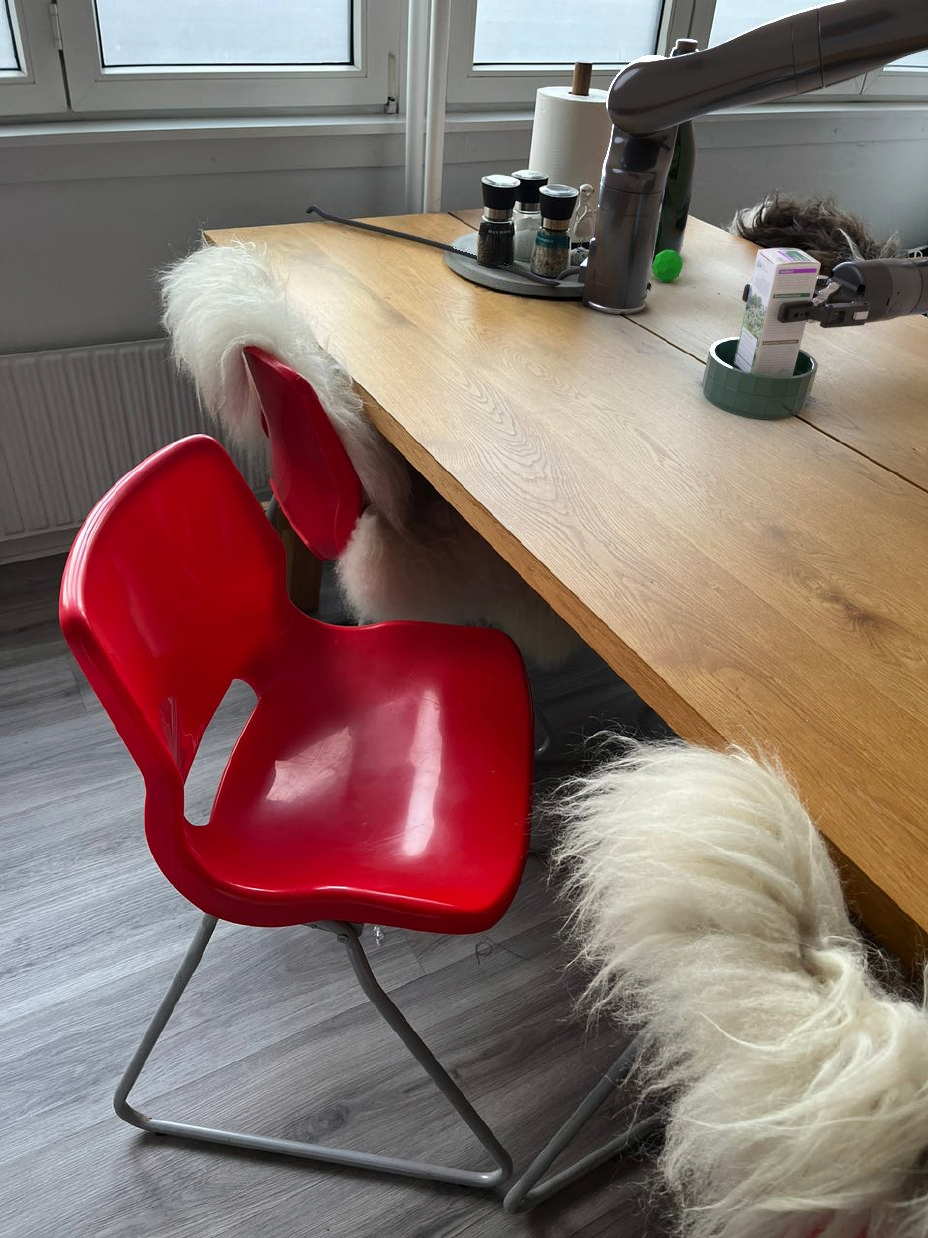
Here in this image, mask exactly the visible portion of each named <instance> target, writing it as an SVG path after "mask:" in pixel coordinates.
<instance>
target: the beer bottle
mask: <svg viewBox="0 0 928 1238" xmlns="http://www.w3.org/2000/svg"><path fill="white" fill-rule="evenodd" d="M698 44H699V42H698V41H697V40H695V39H691V38H679V39H677V40H676V42H675V47H673V48H672V51H671V53H670V58H671V57H676V56H681V55H686V54H690V53H695V52H699V51H700V50H699V49H697V48H698ZM694 126H695V125H694V118H693V119H691V120H688V121H685V122H682V123H680V124H679V126H678V131H677V136H676V141H675V147H674V152H673V157H672V162H671V165H670V168H669V172H668V176H667V180H666V185H665V191H664V197H663V203H662V209H661V214H660V220H659V226H658V232H657V238H656V243H655V249H654V255H653V261H652V262H654V260H655V257H656V255H657V254H659V253H660V252H662V251H664V250H673V251H675V252H676V253H678V254H679V255H680V256H681V254H682V251H683V246H684V240H685V234H686V230H687V223H688V218H689V212H690V206H691V199H692V194H693V188H694V184H695V183H694V182H695V176H696V168H697V159H698V158H697V157H698V156H697V152H698V151H697V149H698V147H697V140H696V133H695V127H694Z"/></svg>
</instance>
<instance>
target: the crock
mask: <svg viewBox="0 0 928 1238" xmlns="http://www.w3.org/2000/svg"><path fill="white" fill-rule="evenodd" d="M738 340H739V336H737V337H728V338H724V339H721V340H717V341H715V342H714V343H712V344H711V345H710V348H709V350H708V354H707V360H706V364H705V369H704V373H703V377H702V382H701V387H702V391H703V395H704V397H705V399H706V400H707V401H708V402H709V403H711V404H712V405H713V406H715V407H717V408H719V409H721V410H723V411H725V412H727V413H731V414H733V415H736V416H739V417H745V418H749V419H755V420H756V419H757V420H772V421H773V420H775V421H776V420H784V419H789V418H793V417H795V416H797V415H798V414H800V413H801V412H802V411H803V409H804V408H805V407H806V406H807V405H808V402H809V399H810V395H811V392H812V388H813V385H814V382H815V378H816V375H817V372H818V367H819V364H818V362H817V360H816V359H815V357H813V356H812V355H811V354H810V353H808V352H807V351H805V350H803V349H802V348H799V352H798V356H797V360H796V364H795V368H794V372H793V376H790V377H773V376H765V375H758V374H753V373H749V372H745V371H742V370H740V369H739V368H738V367H737V366H736V365H735V364H734V359H735V355H736V350H737V345H738Z"/></svg>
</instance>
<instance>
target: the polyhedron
mask: <svg viewBox="0 0 928 1238" xmlns="http://www.w3.org/2000/svg"><path fill="white" fill-rule="evenodd" d="M683 266H684V262H683V257H682V256H681V254H680V255H679V254H678V253H676V252H675V251H673V250H664V251H662V252H660V253H659V254H657V255H656V257H655V260H654V261H653V262H652V267H651V271H652V274H653V276H654V277H656V278H657V279H658V280H659V281H660V282H663V283H670V282H673V281H675V280H676V279H678V278H679V277H680V274H681V272H682V270H683Z"/></svg>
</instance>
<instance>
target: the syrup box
mask: <svg viewBox="0 0 928 1238" xmlns="http://www.w3.org/2000/svg"><path fill="white" fill-rule="evenodd" d="M821 265H822V263H821V262H820V261H818V260H816V259H815V258H814V257H812V256H811V255H809V254H808V253H806V252H805V251H803V250H802V249H801V248H796V247H772V248H771V247H770V248H763V249H762V248H761V249H758V250H757V253H756V257H755V262H754V267H753V271H752V276H751V281H750V283H751V285H750V289H749V294H748V299H747V303H746V302H745V303H746V304H745V308H744V313H743V316H742V317H743V318H742V322H741V327H740V330H739V336H738V337H739V340H738V345H737V350H736V355H735V359H734V364H735V365H736V366H737V367H738V368H739V369H740V370H742V371H745V372H749V373H753V374H758V375H765V376H773V377H790V376H793V372H794V368H795V364H796V360H797V356H798V352H799V349H801V345H802V340H803V336H804V332H805V327H806V324H807V322H806V320H805V321H798V322H790V323H781V322H779V321H778V320H777V317H778V313H779V309H780V306H781V304H783V303H786V302H795V301H804V300H807V301H809V302H810V303H811V300H812V297H813V293H814V289H815V285H816V281H817V277H818V275H819V273H820V269H821Z"/></svg>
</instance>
